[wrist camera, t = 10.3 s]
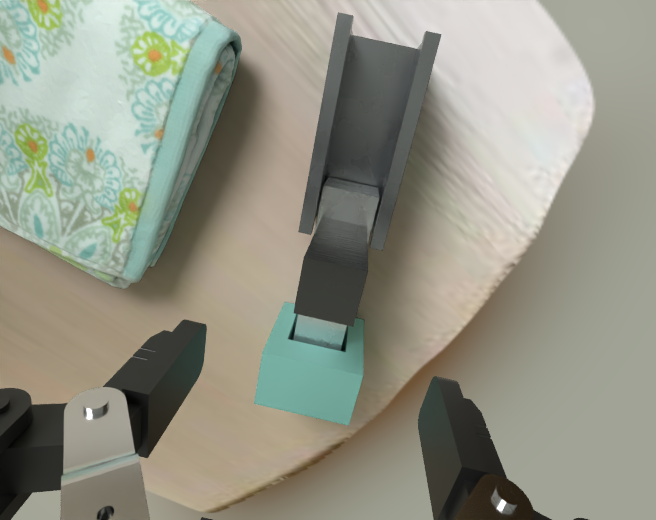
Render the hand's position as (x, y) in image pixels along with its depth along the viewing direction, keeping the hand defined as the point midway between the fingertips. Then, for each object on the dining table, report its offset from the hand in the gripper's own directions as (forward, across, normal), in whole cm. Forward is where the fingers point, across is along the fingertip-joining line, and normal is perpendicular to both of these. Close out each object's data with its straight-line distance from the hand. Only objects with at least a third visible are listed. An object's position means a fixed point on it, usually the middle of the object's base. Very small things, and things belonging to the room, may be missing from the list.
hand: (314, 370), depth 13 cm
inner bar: (+16, 0, +3) cm, 17 cm away
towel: (+19, +20, -4) cm, 28 cm away
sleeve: (+18, 0, -7) cm, 19 cm away
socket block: (+18, 0, +10) cm, 20 cm away
